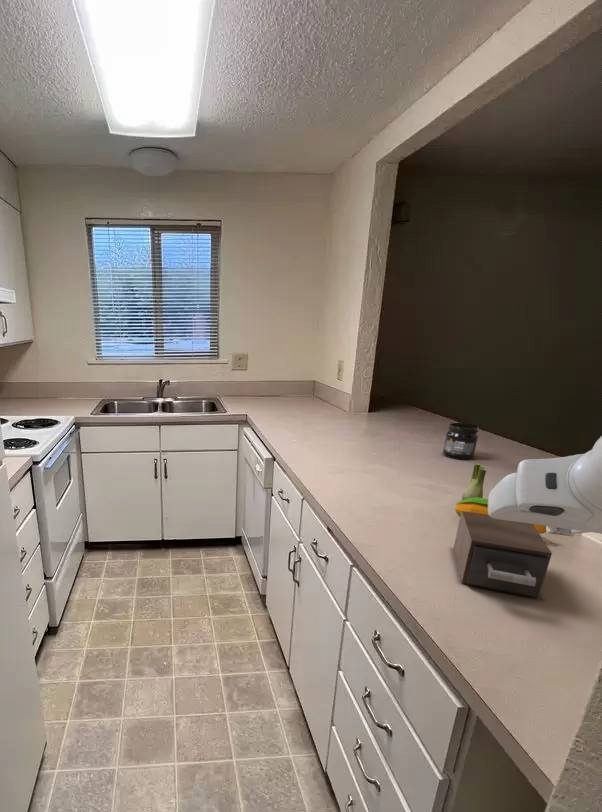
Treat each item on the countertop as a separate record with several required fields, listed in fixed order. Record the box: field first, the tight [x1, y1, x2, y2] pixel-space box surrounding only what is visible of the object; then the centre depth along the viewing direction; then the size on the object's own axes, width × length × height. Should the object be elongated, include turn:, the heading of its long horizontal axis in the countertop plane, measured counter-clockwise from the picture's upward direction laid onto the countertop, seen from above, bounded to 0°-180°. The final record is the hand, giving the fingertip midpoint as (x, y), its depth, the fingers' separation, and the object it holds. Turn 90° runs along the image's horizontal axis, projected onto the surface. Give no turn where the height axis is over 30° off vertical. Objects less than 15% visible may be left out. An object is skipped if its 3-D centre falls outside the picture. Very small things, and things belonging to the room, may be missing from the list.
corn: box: [454, 497, 547, 535], centre depth 108 cm, size 7×8×20 cm
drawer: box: [466, 545, 550, 597], centre depth 86 cm, size 18×12×8 cm, turn 157°
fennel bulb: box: [461, 462, 487, 501], centre depth 122 cm, size 6×5×12 cm
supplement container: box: [442, 422, 479, 460], centre depth 165 cm, size 10×10×12 cm
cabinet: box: [452, 511, 553, 599], centre depth 90 cm, size 15×13×10 cm
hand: (558, 529), depth 63 cm, fingers closed
